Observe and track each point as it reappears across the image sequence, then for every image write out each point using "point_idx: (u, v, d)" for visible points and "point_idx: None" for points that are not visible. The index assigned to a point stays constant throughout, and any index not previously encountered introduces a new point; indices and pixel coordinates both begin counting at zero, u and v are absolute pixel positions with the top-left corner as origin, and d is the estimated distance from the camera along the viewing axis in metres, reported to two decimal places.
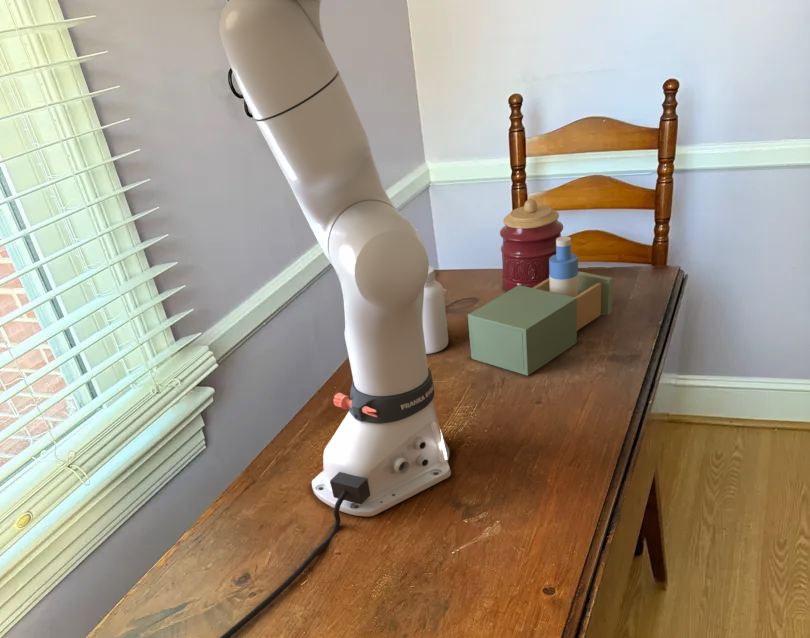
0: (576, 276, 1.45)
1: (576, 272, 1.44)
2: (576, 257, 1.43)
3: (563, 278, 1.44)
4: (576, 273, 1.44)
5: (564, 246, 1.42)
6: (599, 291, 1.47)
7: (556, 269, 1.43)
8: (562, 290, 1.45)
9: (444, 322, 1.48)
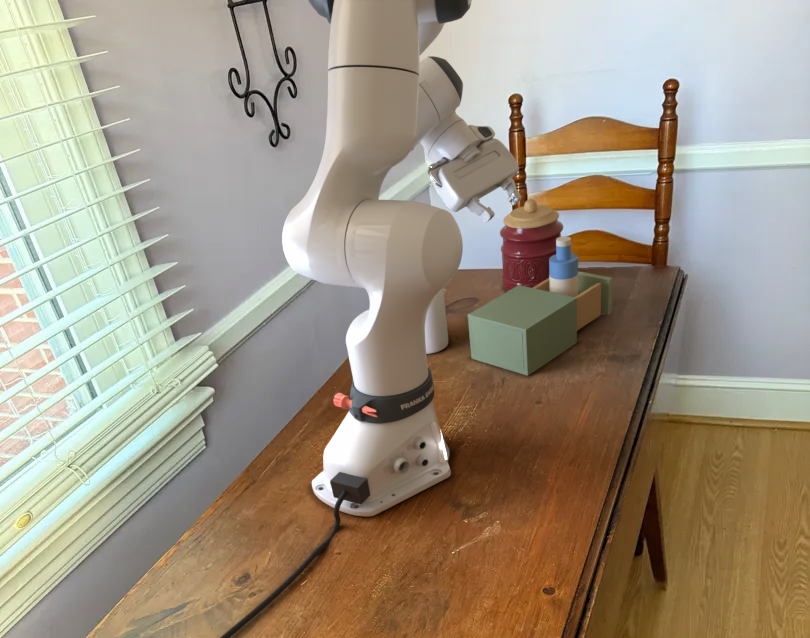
0: (576, 276, 1.45)
1: (576, 272, 1.44)
2: (576, 257, 1.43)
3: (563, 278, 1.44)
4: (576, 273, 1.44)
5: (564, 246, 1.42)
6: (599, 291, 1.47)
7: (556, 269, 1.43)
8: (562, 290, 1.45)
9: (444, 322, 1.48)
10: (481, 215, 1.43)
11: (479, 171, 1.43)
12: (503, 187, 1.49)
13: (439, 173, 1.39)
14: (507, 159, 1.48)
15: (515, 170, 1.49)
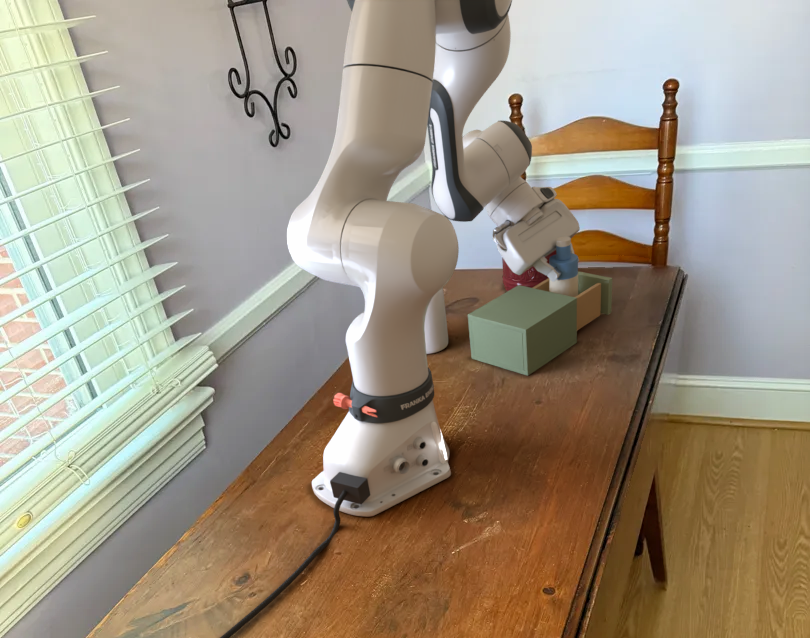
0: (576, 276, 1.45)
1: (576, 272, 1.44)
2: (576, 257, 1.43)
3: (563, 278, 1.44)
4: (576, 273, 1.44)
5: (563, 246, 1.42)
6: (599, 291, 1.47)
7: None
8: (562, 290, 1.45)
9: (444, 322, 1.48)
10: (548, 274, 1.43)
11: (542, 233, 1.43)
12: None
13: (504, 237, 1.39)
14: (568, 220, 1.48)
15: (576, 230, 1.48)
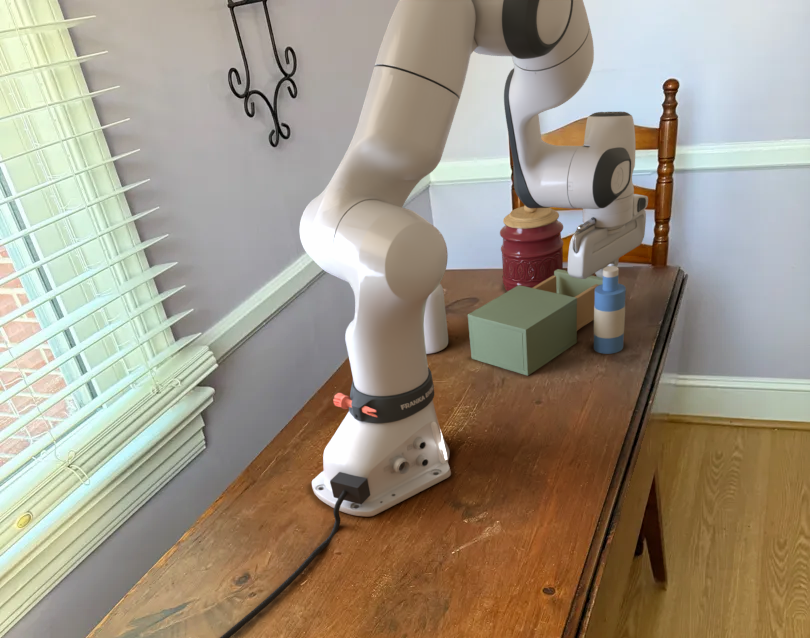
0: (623, 308, 1.36)
1: (623, 304, 1.36)
2: (624, 288, 1.35)
3: (609, 310, 1.36)
4: (623, 305, 1.36)
5: (611, 277, 1.33)
6: None
7: (603, 300, 1.35)
8: (608, 322, 1.37)
9: (444, 322, 1.48)
10: None
11: (612, 245, 1.43)
12: None
13: (583, 242, 1.38)
14: (638, 233, 1.48)
15: (637, 246, 1.50)
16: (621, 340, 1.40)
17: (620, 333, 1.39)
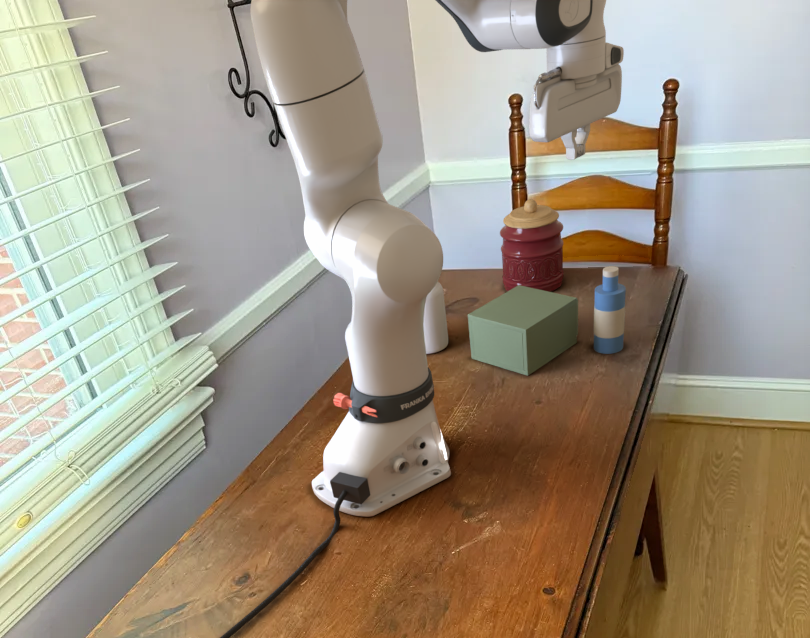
0: (623, 308, 1.36)
1: (623, 304, 1.36)
2: (624, 288, 1.35)
3: (609, 310, 1.36)
4: (623, 305, 1.36)
5: (611, 277, 1.33)
6: None
7: (603, 300, 1.35)
8: (608, 322, 1.37)
9: (444, 322, 1.48)
10: (567, 149, 1.28)
11: (581, 105, 1.23)
12: None
13: (545, 94, 1.17)
14: (613, 96, 1.28)
15: (612, 112, 1.29)
16: (621, 340, 1.40)
17: (620, 333, 1.39)
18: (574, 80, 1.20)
